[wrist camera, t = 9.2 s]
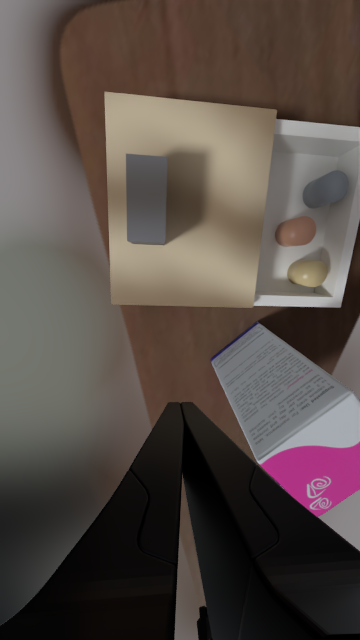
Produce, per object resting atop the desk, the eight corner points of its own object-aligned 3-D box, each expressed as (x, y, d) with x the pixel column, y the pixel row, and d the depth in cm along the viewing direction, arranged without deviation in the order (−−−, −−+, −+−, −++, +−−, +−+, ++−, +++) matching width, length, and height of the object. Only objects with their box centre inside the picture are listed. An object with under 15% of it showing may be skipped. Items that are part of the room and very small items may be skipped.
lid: (249, 305, 18) (272, 317, 14) (113, 302, 17) (100, 314, 13) (271, 117, 15) (307, 71, 11) (107, 100, 14) (89, 45, 10)
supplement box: (207, 360, 22) (254, 462, 11) (257, 319, 22) (359, 384, 11) (243, 400, 24) (317, 525, 13) (291, 362, 23) (413, 459, 12)
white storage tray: (316, 300, 22) (340, 307, 19) (207, 297, 21) (215, 304, 18) (344, 149, 19) (378, 129, 16) (219, 137, 18) (231, 114, 15)
